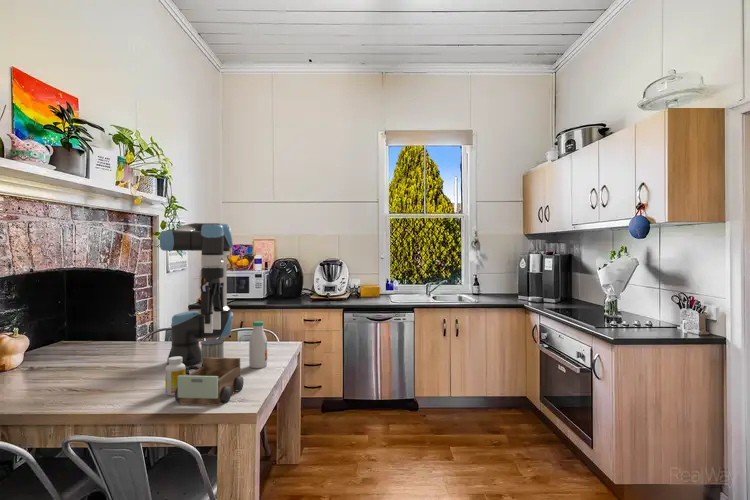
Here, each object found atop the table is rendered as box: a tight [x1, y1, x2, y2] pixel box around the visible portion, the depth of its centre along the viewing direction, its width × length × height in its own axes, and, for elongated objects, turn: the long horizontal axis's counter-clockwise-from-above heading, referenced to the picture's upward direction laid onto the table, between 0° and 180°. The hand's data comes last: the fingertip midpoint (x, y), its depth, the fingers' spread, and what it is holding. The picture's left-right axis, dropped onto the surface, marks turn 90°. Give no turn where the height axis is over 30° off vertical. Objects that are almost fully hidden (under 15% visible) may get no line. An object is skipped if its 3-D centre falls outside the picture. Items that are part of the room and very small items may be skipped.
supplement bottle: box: [164, 356, 186, 397], centre depth 152 cm, size 7×7×13 cm
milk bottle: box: [248, 320, 268, 369], centre depth 187 cm, size 8×8×20 cm
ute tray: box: [174, 357, 245, 405], centre depth 150 cm, size 18×18×11 cm
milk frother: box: [185, 338, 225, 375], centre depth 171 cm, size 14×16×15 cm
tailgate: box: [178, 375, 218, 399], centre depth 140 cm, size 14×2×7 cm, turn 86°
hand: (212, 330), depth 151 cm, fingers open, 6 cm apart
